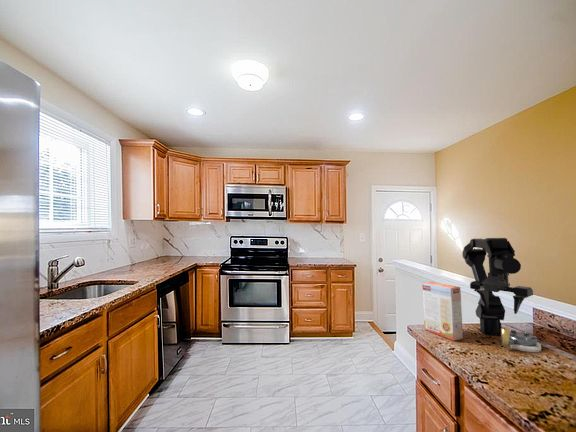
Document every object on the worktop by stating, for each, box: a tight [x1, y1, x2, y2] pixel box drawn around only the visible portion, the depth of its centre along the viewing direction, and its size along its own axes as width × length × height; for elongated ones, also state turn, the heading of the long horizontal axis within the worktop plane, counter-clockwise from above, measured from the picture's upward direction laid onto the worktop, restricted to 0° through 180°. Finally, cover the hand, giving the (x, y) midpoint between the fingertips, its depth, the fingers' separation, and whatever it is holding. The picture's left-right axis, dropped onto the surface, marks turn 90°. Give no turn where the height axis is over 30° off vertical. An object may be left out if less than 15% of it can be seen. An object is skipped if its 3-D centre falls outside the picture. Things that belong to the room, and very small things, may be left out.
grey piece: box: [501, 327, 538, 348], centre depth 101 cm, size 15×9×6 cm, turn 112°
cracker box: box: [422, 281, 464, 342], centre depth 115 cm, size 14×6×21 cm, turn 22°
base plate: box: [509, 341, 542, 353], centre depth 102 cm, size 11×11×2 cm
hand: (501, 310), depth 105 cm, fingers open, 9 cm apart
